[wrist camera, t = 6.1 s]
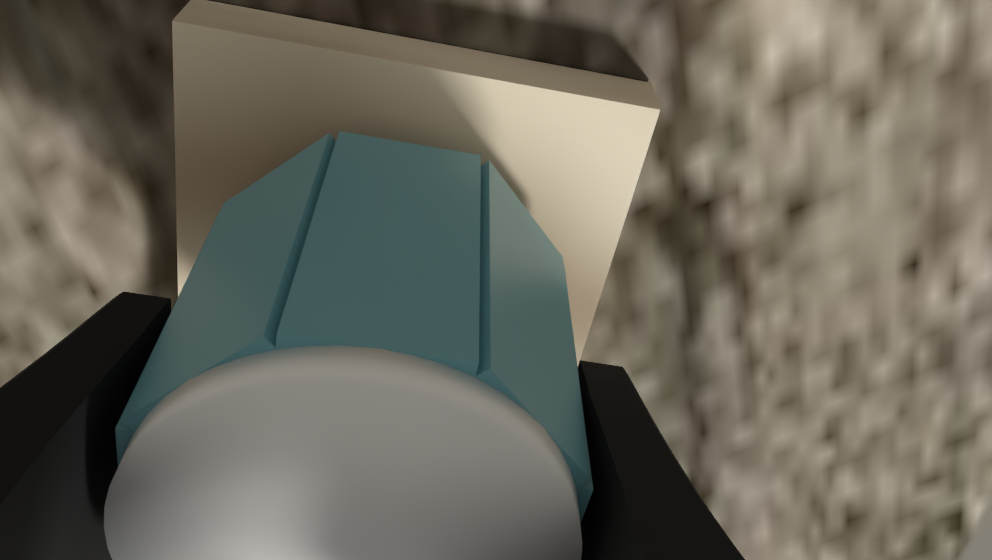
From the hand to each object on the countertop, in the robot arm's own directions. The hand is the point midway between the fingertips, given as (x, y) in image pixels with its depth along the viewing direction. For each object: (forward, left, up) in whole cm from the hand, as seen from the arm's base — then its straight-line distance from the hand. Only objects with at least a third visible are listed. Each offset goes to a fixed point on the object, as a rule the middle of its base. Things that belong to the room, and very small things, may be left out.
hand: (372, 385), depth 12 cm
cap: (0, 0, -2) cm, 2 cm away
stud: (0, 0, -4) cm, 4 cm away
